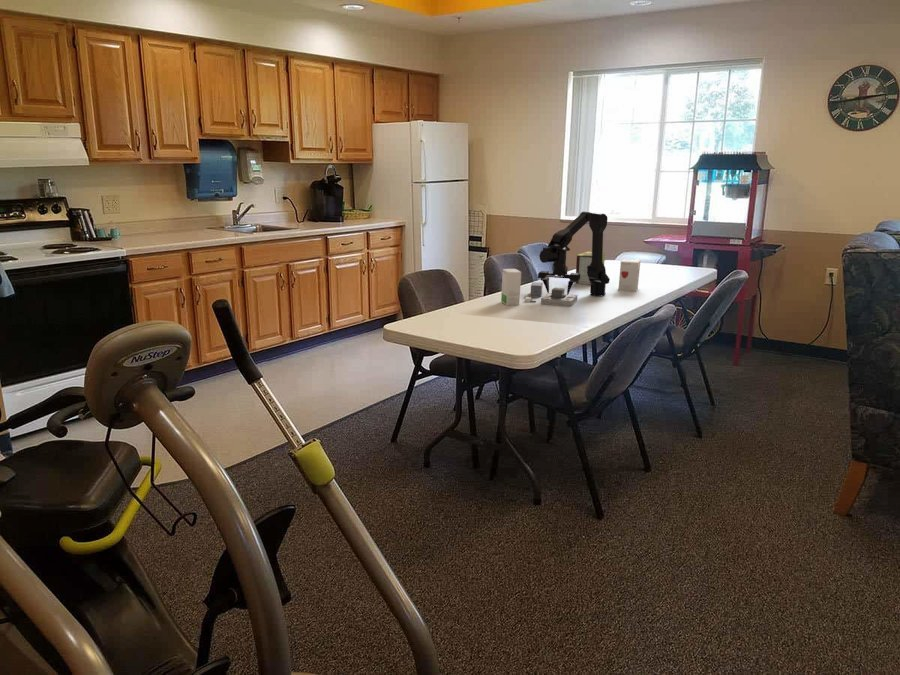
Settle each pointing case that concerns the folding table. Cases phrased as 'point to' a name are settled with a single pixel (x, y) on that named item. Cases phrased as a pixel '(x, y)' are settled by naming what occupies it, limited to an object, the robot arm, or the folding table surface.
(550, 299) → the outlet plate
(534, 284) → the block
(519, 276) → the skincare box
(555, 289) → the grey block
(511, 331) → the folding table surface
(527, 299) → the cable plug
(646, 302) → the folding table surface
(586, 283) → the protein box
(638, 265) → the supplement box
